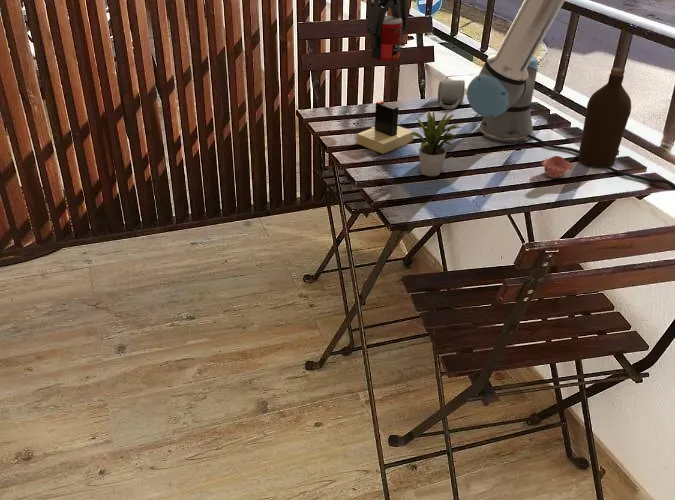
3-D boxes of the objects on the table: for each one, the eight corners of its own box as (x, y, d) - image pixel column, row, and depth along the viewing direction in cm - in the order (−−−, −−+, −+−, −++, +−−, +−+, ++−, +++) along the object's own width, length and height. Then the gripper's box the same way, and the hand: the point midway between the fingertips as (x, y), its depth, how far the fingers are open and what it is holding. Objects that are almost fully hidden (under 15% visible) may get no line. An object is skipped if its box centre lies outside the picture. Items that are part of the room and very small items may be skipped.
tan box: (383, 154, 178) (384, 143, 176) (355, 143, 184) (356, 132, 182) (414, 141, 186) (414, 131, 184) (386, 131, 192) (386, 121, 190)
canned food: (397, 62, 184) (400, 22, 178) (370, 60, 186) (371, 20, 180) (401, 55, 190) (404, 16, 184) (374, 53, 192) (376, 14, 186)
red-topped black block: (396, 134, 182) (398, 106, 178) (391, 136, 181) (393, 108, 176) (379, 128, 186) (381, 100, 181) (374, 130, 185) (375, 102, 180)
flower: (552, 167, 172) (556, 148, 169) (576, 178, 166) (581, 158, 163) (531, 174, 168) (535, 154, 165) (556, 186, 162) (560, 166, 159)
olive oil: (587, 170, 170) (610, 76, 157) (568, 154, 179) (588, 64, 166) (624, 167, 172) (649, 74, 159) (603, 151, 181) (625, 62, 167)
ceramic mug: (438, 97, 217) (441, 75, 213) (463, 100, 215) (466, 77, 211) (435, 109, 208) (437, 86, 204) (460, 111, 207) (463, 88, 202)
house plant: (445, 191, 160) (452, 128, 151) (394, 178, 165) (398, 117, 156) (465, 169, 170) (473, 110, 161) (417, 158, 176) (421, 100, 167)
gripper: (374, -23, 167) (370, 65, 179) (425, -32, 179) (419, 51, 191) (353, -27, 172) (351, 59, 184) (405, -35, 184) (400, 46, 196)
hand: (386, 55), depth 188 cm, fingers closed on canned food, 8 cm apart
